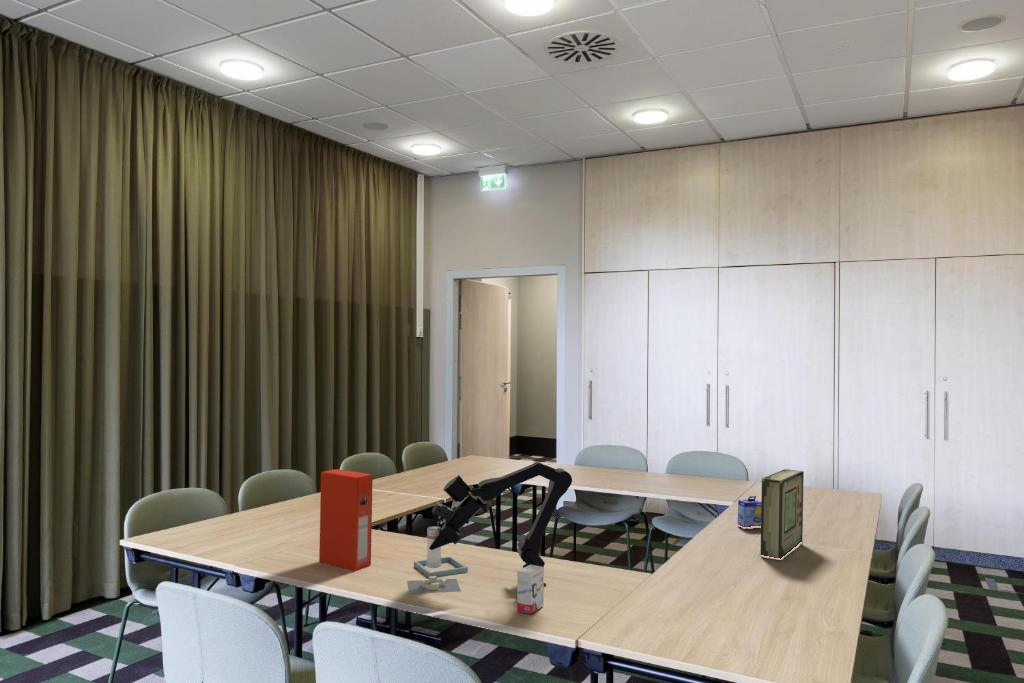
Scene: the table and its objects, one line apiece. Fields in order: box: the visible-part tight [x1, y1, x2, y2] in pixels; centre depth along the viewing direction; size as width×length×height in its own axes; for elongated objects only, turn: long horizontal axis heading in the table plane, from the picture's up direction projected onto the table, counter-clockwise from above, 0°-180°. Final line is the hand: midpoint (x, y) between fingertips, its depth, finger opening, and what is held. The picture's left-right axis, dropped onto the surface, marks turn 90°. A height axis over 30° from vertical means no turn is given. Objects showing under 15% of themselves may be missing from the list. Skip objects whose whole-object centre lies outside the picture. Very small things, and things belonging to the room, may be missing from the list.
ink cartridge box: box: [737, 495, 761, 527], centre depth 309 cm, size 10×6×14 cm, turn 107°
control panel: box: [760, 468, 805, 559], centre depth 274 cm, size 30×8×30 cm, turn 143°
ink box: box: [516, 565, 545, 615], centre depth 205 cm, size 9×5×12 cm, turn 150°
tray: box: [413, 555, 469, 578], centre depth 237 cm, size 14×14×2 cm
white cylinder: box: [425, 526, 442, 569], centre depth 221 cm, size 5×5×12 cm
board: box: [406, 576, 462, 595], centre depth 220 cm, size 16×12×3 cm
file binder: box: [318, 468, 374, 572], centre depth 243 cm, size 8×17×32 cm, turn 59°
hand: (429, 546), depth 221 cm, fingers closed on white cylinder, 4 cm apart
